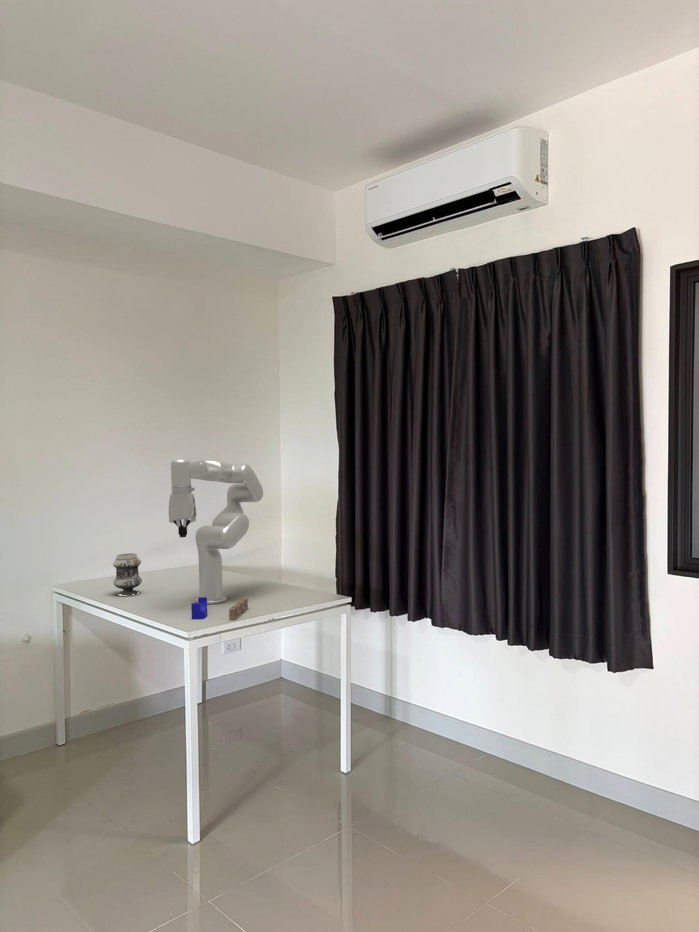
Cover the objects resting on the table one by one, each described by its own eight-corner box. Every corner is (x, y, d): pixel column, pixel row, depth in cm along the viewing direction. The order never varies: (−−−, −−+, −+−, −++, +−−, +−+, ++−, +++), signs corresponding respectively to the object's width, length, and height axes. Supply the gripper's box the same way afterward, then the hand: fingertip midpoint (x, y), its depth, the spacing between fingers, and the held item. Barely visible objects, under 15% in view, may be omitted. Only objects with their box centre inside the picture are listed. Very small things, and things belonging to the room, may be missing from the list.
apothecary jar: (129, 590, 320) (128, 551, 320) (147, 593, 313) (146, 553, 313) (107, 595, 310) (106, 555, 309) (126, 598, 303) (125, 556, 303)
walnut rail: (242, 608, 276) (242, 598, 276) (247, 608, 276) (247, 598, 276) (229, 620, 256) (229, 609, 256) (234, 620, 256) (234, 609, 256)
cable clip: (203, 619, 259) (203, 603, 259) (191, 619, 259) (191, 603, 259) (211, 612, 271) (210, 597, 271) (199, 612, 271) (199, 597, 271)
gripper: (202, 489, 278) (204, 535, 279) (166, 490, 280) (167, 536, 280) (197, 490, 271) (198, 537, 271) (159, 491, 272) (161, 538, 273)
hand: (183, 536), depth 276 cm, fingers closed
